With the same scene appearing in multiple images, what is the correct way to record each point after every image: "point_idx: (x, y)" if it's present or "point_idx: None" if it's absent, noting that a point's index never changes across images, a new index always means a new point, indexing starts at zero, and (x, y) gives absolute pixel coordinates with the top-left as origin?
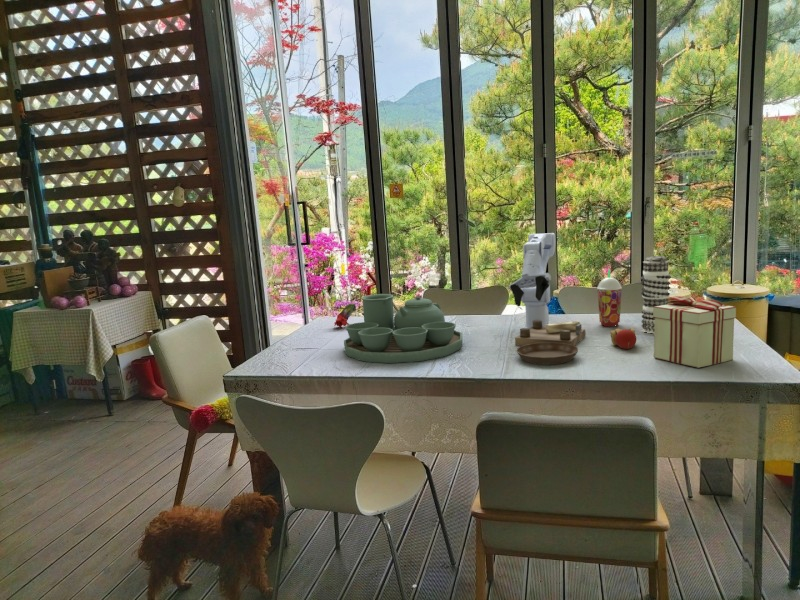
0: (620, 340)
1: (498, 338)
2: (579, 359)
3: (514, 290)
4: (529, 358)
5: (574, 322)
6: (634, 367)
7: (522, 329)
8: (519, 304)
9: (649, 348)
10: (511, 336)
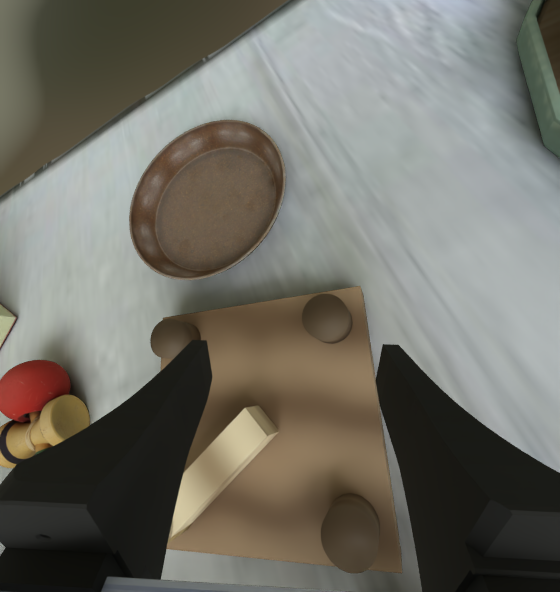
0: (45, 360)
1: (511, 382)
2: None
3: (466, 435)
4: (227, 128)
5: None
6: (51, 236)
7: (330, 302)
8: (379, 384)
9: None
10: None
